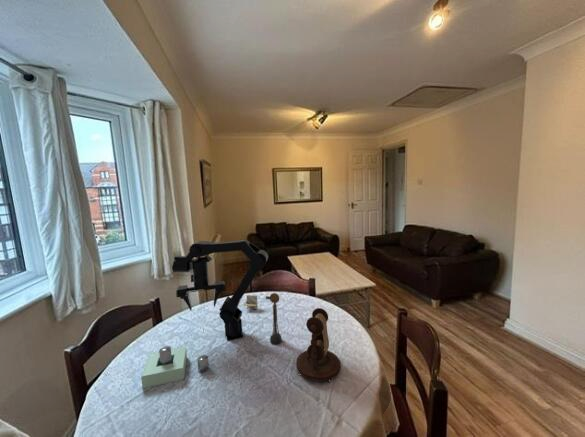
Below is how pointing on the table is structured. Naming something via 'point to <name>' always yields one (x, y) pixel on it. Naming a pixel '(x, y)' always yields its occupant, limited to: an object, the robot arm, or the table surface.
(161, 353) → the long pin
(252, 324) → the table surface
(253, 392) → the table surface
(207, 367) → the short pin
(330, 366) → the dark brown tall piece
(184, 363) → the hole block
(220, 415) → the table surface
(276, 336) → the dark grey slender stand
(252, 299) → the architectural model
